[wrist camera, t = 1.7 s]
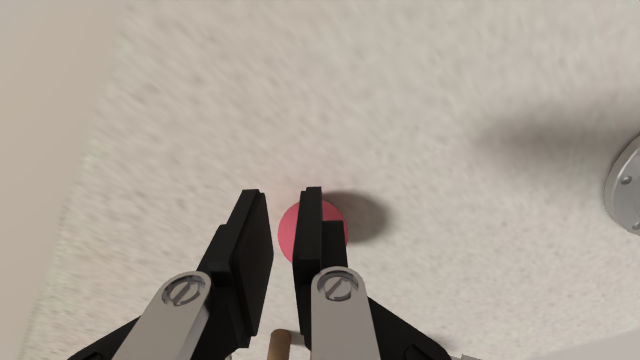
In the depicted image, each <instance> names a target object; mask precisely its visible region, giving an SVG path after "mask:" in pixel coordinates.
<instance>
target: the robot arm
mask: <svg viewBox="0 0 640 360" xmlns="http://www.w3.org/2000/svg"><path fill="white" fill-rule="evenodd" d="M604 204H605V207H606V211H607V213H608V214H609V216H610V217H611V219H612V220H613V221H615V222H616V223H617V224H618V225H619V226H621V227H622V228H624V229H625V230H627V231H628V232H630V233H633V234H636V235H639V236H640V135H639V136H638V137H637V138H636V139H634V140H633V141H632V142H631V143H630V144H629V146H628V147H627V148H626V149H625V150H624V151H623V152H622V153H621V155H620V156H619V158H618V159H617V161H616V162H615V164H614V165H613V167H612V169H611V171H610V173H609V176H608V178H607V181H606V185H605V189H604ZM273 256H274V252H273V244H272V237H271V231H270V224H269V218H268V211H267V204H266V198H265V194H264V193H260V191H259V189H249V190H243V191H242V193H241V195H240V197H239V199H238V201H237V203H236V205H235V207H234V209H233V211H232V213H231V215H230V217H229V219H228V221H227V224H222V225H220V226H219V227H218V229H217V231H216V233H215V235H214V237H213V239H212V241H211V243H210V245H209V246H208V248H207V250H206V252H205V254H204V256H203V258H202V260H201V262H200V264H199V266H198V268H197V270H196V271H190V272H185V273H182V274H178V275H177V276H175V277H173V278H171V279H169V280H168V281H167V282H165V283H164V284H163V285H162V286H161V288H160V289H159V290H158V291H157V293H156V294H155V296H154V297H153V299H152V300H151V302H150V303H149V305H148V306H147V308H146V309H145V311H144V312H143V314H142V315H141V316H139V317H138V318H136V319H134V320H132V321H131V322H129V323H127V324H125V325H124V326H122V327H120V328H118V329H117V330H115V331H113V332H111V333H110V334H108V335H106V336H105V337H103V338H101V339H99V340H98V341H96V342H94V343H92V344H91V345H89V346H87V347H85V348H84V349H82V350H80V351H79V352H77V353H76V354H74V355H73V356H71V357H70V358H68V359H67V360H232V355H231V354H232V353H233V352H234V351H235V350H237V349H238V348H249V344H250V340H251V336H256V335H257V332H258V328H259V323H260V318H261V314H262V309H263V304H264V300H265V295H266V290H267V286H268V281H269V276H270V272H271V267H272V262H273ZM292 267H293V276H294V284H295V292H296V301H297V309H298V317H299V325H300V333H301V335H304V340H305V346H306V347H307V348H308V349H309V350H310V351H311V352H312V360H481V359H477V358H474V357H470V356H466V355H463V354H462V357H461V359H460V358H457V357H453V356H450V355H449V354H448V353H447V352H446V350H445V349H444V348H443V347H441V346H440V345H439V344H438V343H437V342H435V341H434V340H432V339H431V338H429V337H428V336H426V335H425V334H423V333H422V332H420V331H419V330H417V329H416V328H414V327H413V326H411V325H410V324H408V323H407V322H405V321H404V320H402V319H401V318H399V317H398V316H396V315H395V314H393V313H392V312H390V311H389V310H387V309H386V308H384V307H383V306H381V305H380V304H378V303H377V302H375V301H374V300H372V299H371V298H369V297H368V296H367V293H366V289H365V284H364V281H363V279H362V277H361V276H360V275H359V274H358V273H357V272H356V271H354V270H352V269H350V268H348V263H347V253H346V243H345V233H344V223H343V220H328V221H323V207H322V190H321V187H307V188H306V191H301V195H300V202H299V210H298V217H297V224H296V232H295V239H294V246H293V254H292Z"/></svg>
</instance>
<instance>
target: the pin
mask: <svg viewBox="0 0 640 360" xmlns="http://www.w3.org/2000/svg"><path fill="white" fill-rule="evenodd" d="M290 342H291V334H290V333H289V332H288V331H286V330H283V329H277V330H275V331H273V332H272V333H271V338H270V344H269V350H268V356H267V360H289V352H290Z"/></svg>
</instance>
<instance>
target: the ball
mask: <svg viewBox="0 0 640 360" xmlns="http://www.w3.org/2000/svg"><path fill="white" fill-rule="evenodd" d="M322 207H323V221H328V220H343V223H344V233H345V243H346V245H347V240H348V228H347V224H346V221H345V219H344V217H343V215H342V214H341V213H340V211H339V210H338V209H337V208H336V207H335V206H333V205H332V204H330V203H328V202H326V201H323V200H322ZM298 210H299V202H298V203H296V204H294V205H293V206H292V207H290V208H289V209H288V210H287V211H286V213H285V214H284V216H283V217H282V219H281V221H280V224H279V228H278V241H279V245H280V248H281V251H282V252H283V254H284V256H285V257H286V258H287V259H288V260H289V261H290V262H291V263H292V254H293V246H294V239H295V232H296V224H297V217H298Z"/></svg>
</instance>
